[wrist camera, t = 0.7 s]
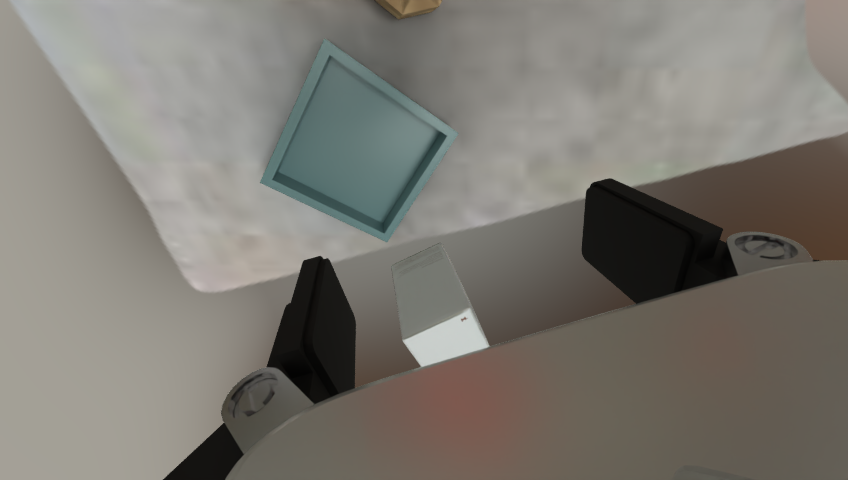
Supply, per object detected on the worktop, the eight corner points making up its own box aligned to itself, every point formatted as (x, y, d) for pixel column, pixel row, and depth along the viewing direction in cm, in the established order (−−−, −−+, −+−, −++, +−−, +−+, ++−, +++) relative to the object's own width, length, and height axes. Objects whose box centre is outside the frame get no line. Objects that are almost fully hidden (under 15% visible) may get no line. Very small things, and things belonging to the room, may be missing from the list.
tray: (328, 41, 27) (324, 38, 24) (450, 127, 32) (458, 133, 30) (269, 172, 31) (259, 182, 29) (385, 228, 37) (387, 242, 34)
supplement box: (389, 264, 40) (400, 339, 29) (441, 240, 39) (472, 307, 28) (412, 303, 43) (429, 382, 32) (460, 281, 43) (494, 353, 32)
